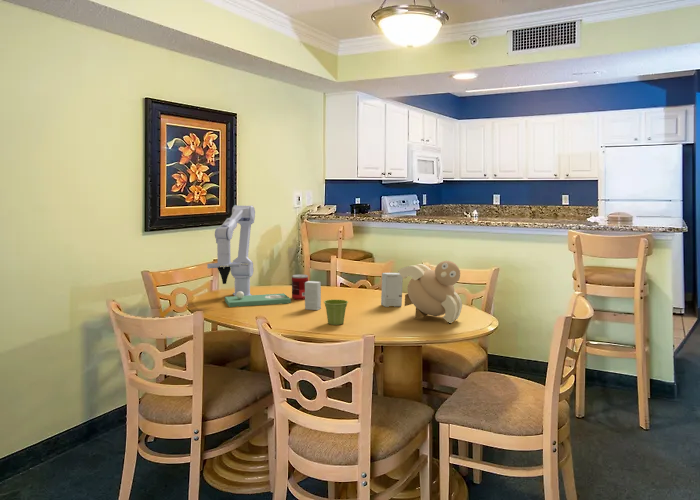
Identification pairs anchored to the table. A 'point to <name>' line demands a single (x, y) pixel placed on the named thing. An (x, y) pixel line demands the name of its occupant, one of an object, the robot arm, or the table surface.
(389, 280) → the skincare box
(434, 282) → the chick figurine
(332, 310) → the plant pot
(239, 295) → the ball
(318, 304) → the skincare box
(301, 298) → the canned food
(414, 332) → the table surface
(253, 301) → the green
